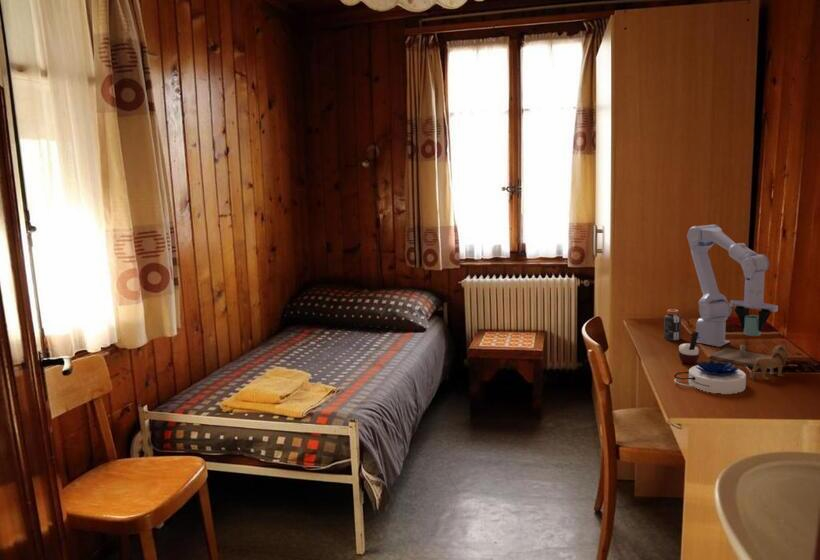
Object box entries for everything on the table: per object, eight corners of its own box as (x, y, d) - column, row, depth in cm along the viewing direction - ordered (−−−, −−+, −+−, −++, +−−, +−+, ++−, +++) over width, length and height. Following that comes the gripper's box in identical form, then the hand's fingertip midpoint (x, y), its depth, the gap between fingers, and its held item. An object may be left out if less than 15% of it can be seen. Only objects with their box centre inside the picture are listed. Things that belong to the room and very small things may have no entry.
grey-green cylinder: (741, 334, 209) (742, 317, 208) (747, 331, 212) (748, 314, 211) (757, 336, 205) (757, 319, 204) (763, 333, 208) (763, 316, 207)
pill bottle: (682, 340, 231) (683, 311, 229) (665, 340, 232) (666, 311, 230) (678, 336, 237) (679, 308, 235) (662, 336, 238) (663, 308, 236)
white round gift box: (736, 356, 191) (668, 355, 195) (754, 372, 176) (680, 372, 180) (735, 376, 192) (668, 376, 196) (753, 395, 177) (680, 394, 181)
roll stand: (710, 358, 210) (710, 344, 209) (726, 350, 217) (726, 336, 216) (759, 368, 198) (760, 353, 197) (774, 359, 205) (775, 345, 204)
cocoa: (679, 357, 212) (680, 324, 210) (699, 359, 209) (700, 325, 207) (677, 366, 204) (678, 331, 202) (698, 368, 201) (699, 332, 199)
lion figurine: (774, 369, 196) (775, 342, 194) (791, 374, 191) (792, 346, 190) (745, 379, 189) (746, 351, 188) (761, 384, 185) (763, 355, 183)
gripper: (726, 290, 209) (725, 328, 211) (772, 295, 198) (770, 335, 200) (735, 286, 213) (734, 324, 216) (781, 291, 202) (779, 330, 205)
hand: (752, 329), depth 208 cm, fingers closed on grey-green cylinder, 5 cm apart
